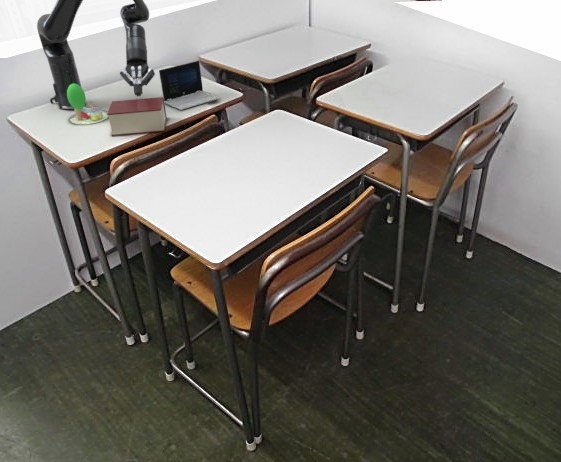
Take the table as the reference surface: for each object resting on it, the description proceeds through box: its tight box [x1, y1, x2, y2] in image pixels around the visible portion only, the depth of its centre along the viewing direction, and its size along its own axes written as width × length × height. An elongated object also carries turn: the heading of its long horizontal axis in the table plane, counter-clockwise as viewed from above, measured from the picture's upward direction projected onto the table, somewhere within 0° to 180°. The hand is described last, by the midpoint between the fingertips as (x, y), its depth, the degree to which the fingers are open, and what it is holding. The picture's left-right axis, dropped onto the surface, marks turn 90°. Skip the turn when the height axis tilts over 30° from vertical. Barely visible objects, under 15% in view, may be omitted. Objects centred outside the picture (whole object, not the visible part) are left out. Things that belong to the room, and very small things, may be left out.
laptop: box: [158, 60, 220, 111], centre depth 203 cm, size 18×12×13 cm
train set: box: [67, 84, 109, 125], centre depth 193 cm, size 15×14×14 cm
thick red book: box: [107, 96, 168, 137], centre depth 184 cm, size 18×13×8 cm
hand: (138, 95), depth 192 cm, fingers closed
